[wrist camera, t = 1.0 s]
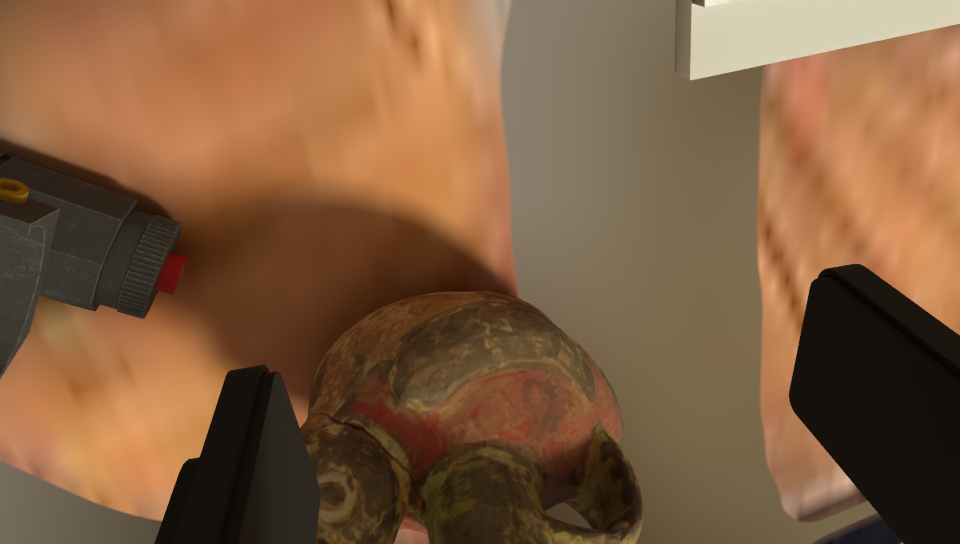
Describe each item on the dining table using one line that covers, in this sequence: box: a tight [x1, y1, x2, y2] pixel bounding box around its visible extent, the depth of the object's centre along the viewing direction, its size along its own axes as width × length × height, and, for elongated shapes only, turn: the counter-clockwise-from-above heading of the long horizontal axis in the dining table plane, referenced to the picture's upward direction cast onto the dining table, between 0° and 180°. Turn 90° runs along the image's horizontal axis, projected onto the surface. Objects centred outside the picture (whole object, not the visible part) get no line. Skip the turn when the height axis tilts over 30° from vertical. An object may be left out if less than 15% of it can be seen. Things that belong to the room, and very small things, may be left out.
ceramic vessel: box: [300, 291, 644, 544], centre depth 35 cm, size 17×26×25 cm, turn 72°
